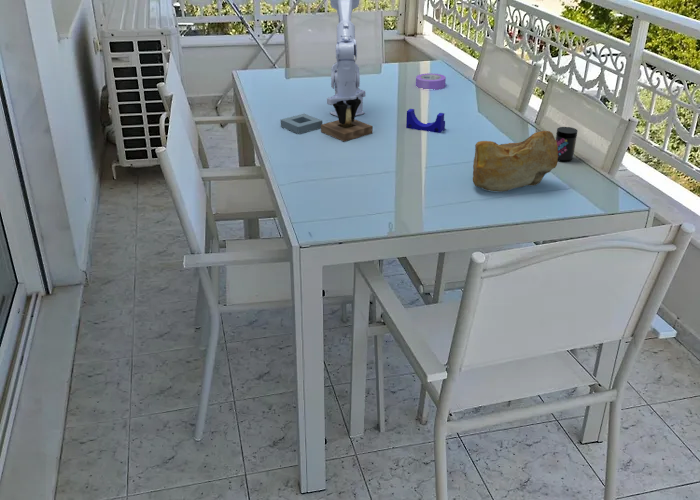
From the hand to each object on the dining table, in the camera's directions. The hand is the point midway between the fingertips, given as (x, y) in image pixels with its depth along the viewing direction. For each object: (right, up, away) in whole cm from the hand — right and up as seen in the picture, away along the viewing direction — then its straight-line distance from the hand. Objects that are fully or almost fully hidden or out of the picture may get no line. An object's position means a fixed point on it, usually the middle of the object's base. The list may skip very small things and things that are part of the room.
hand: (346, 122), depth 229 cm
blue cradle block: (+26, -1, +5) cm, 27 cm away
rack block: (-15, 0, +7) cm, 17 cm away
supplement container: (+65, -15, -19) cm, 69 cm away
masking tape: (+33, +23, +50) cm, 65 cm away
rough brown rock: (+45, -23, -34) cm, 61 cm away
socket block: (0, -3, +2) cm, 4 cm away
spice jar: (0, -3, +1) cm, 3 cm away
